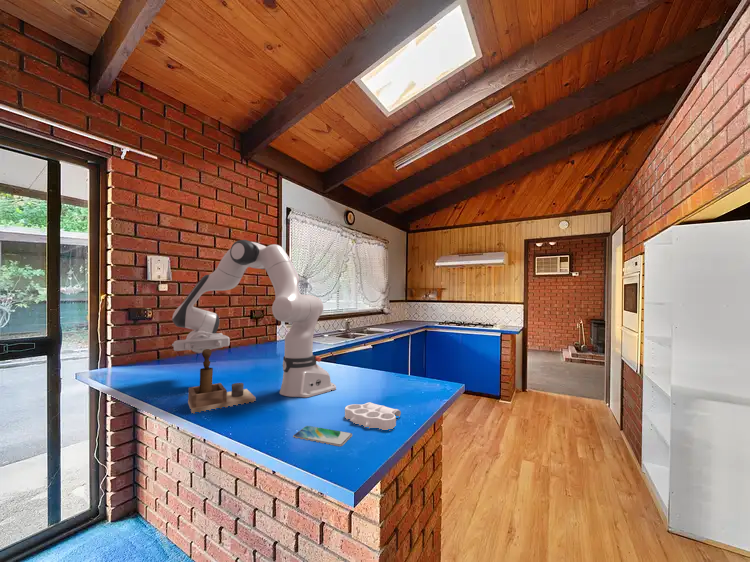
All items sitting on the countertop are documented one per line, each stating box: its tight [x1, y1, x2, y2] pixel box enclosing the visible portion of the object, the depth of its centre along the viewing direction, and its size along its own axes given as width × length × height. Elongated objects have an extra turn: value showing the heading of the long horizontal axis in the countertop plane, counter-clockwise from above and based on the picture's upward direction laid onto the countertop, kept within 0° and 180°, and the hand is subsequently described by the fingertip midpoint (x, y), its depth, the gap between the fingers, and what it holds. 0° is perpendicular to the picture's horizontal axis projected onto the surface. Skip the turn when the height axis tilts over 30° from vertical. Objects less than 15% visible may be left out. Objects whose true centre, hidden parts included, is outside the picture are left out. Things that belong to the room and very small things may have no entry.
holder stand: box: [187, 382, 257, 414], centre depth 112 cm, size 20×13×6 cm, turn 126°
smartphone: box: [292, 425, 353, 447], centre depth 85 cm, size 7×1×15 cm
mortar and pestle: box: [197, 349, 214, 394], centre depth 109 cm, size 7×6×18 cm
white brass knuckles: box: [344, 402, 402, 431], centre depth 96 cm, size 3×18×15 cm
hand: (205, 345), depth 122 cm, fingers open, 8 cm apart
